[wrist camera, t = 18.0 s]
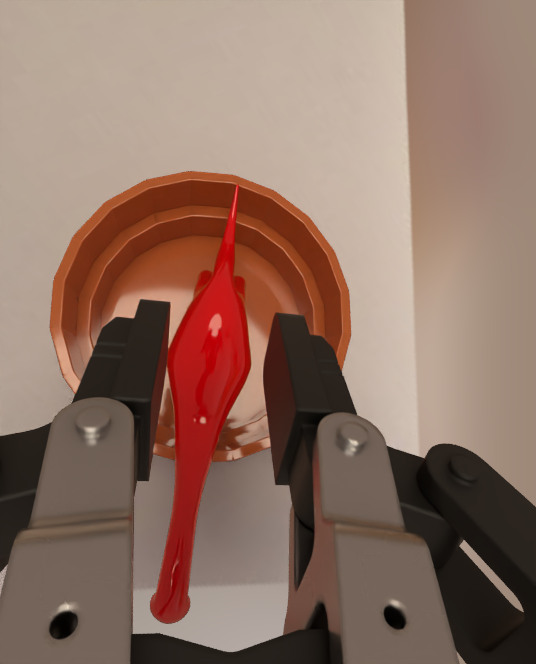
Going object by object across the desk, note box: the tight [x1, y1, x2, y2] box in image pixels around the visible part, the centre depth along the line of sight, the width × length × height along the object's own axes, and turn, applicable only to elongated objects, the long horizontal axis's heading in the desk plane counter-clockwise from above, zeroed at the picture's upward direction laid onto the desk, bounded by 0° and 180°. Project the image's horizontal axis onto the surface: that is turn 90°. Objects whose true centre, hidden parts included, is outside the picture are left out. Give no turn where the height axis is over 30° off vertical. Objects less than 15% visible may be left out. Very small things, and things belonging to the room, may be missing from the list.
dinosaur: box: [150, 184, 252, 624], centre depth 18 cm, size 4×15×12 cm, turn 172°
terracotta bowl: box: [50, 171, 351, 462], centre depth 23 cm, size 14×14×6 cm
